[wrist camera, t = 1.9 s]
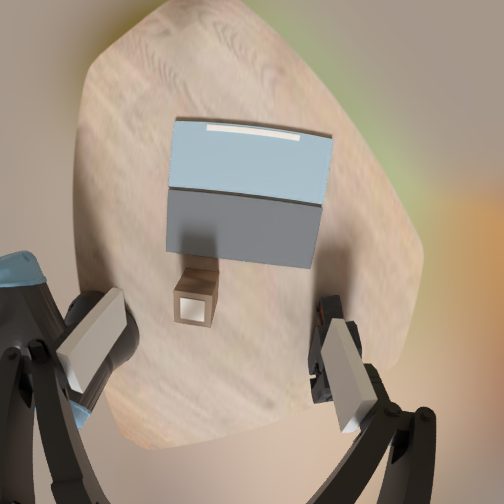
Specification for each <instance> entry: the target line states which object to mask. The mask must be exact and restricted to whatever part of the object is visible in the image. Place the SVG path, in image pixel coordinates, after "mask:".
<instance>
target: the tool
mask: <svg viewBox="0 0 504 504" xmlns="http://www.w3.org/2000/svg"><path fill="white" fill-rule="evenodd" d="M316 312H317V316H319V319H320V324H321V326H316V329H315V333H314V338H313V342H312V346H311V350H310V354H309V358H308V367H309V374H310V375H314V374H315V375H316V378H312V379H310V384H311V393H312V398H313V402H314V404H316V403H322V402H329V401H333V397H332V393H331V389H330V385H329V381H328V377H327V374H326V370H325V366H324V362H323V358H322V355H321V349H322V347H323V344H324V341H325V338H326V335H327V332H328V330H329V327H330V324H331V321H332V318H336V319H344V317H343V312H342V306H341V301H340V296H339V295H333V296H325V297H320V298H319V301H318V303H317V306H316ZM345 323H346V326H347V328H348V330H349V332H350V335H351V337H352V339H353V341H354V344H355V346H356V348H357V350H358V353H359V355H360V357H361V359H362V346H361V341H360V337H359V333H358V328H357V325H356V324H355V322H354V321H349V322H345Z"/></svg>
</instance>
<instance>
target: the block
mask: <svg viewBox="0 0 504 504" xmlns="http://www.w3.org/2000/svg"><path fill="white" fill-rule="evenodd" d="M218 284H219V272H213V271H205V270H197V269H190V268H186V270H185V271H184V273H183V275H182V277H181V278H180V280H179V282H178V284H177V285H176V287H175V289H174V322H177V323H183V324H189V325H196V326H202V327H209V328H211V324H212V320H213V316H214V312H215V308H216V304H217V298H218Z"/></svg>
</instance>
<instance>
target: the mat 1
mask: <svg viewBox="0 0 504 504" xmlns="http://www.w3.org/2000/svg"><path fill="white" fill-rule="evenodd" d="M332 146H333V139H330V138H325V137H320V136H315V135H309V134H304V133H298V132H292V131H286V130H279V129H272V128H264V127H256V126H247V125H238V124H226V123H212V122H193V121H175V122H174V131H173V140H172V149H171V160H170V173H169V186H173V187H185V188H197V189H208V190H218V191H227V192H236V193H245V194H253V195H261V196H269V197H277V198H284V199H291V200H298V201H304V202H311V203H317V204H323V203H324V197H325V191H326V185H327V179H328V173H329V167H330V160H331V153H332Z"/></svg>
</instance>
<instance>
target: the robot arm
mask: <svg viewBox="0 0 504 504" xmlns="http://www.w3.org/2000/svg"><path fill="white" fill-rule="evenodd" d="M46 281H47V280H46V277H45V276H44V275H43V273H42V271H41V269H40V266H39V264H38V262H37V259H36V257H35V256H34V255H33V254H32V253H31V252H29V251H19V252H15V253H11V254H8V255H5V256H2V257H0V504H35V495H34V483H33V461H32V460H33V457H32V455H33V453H32V451H33V450H32V449H33V425H34V413H36V414H37V420H38V425H39V430H40V435H41V440H42V444H43V448H44V452H45V456H46V460H47V463H48V467H49V470H50V473H51V476H52V479H53V483H52V484H51V490H52V493H53V496H54V499H55V501H56V504H110V502H109V501H108V500H107V498H106V497H105V495H104V493H103V491H102V489H101V487H100V485H99V482H98V480H97V478H96V476H95V474H94V471H93V469H92V467H91V464H90V462H89V459H88V457H87V454H86V452H85V449H84V446H83V443H82V440H81V437H80V435H79V431H78V430H79V429H81V428H82V426H83V425H84V423H85V422H86V420H87V418H88V417H89V416H90V415H91V412H92V410H93V408H94V406H95V404H96V402H97V400H98V398H99V396H100V394H101V392H102V391H103V389H104V387H105V385H106V383H107V381H108V379H109V377H110V375H111V374H112V372H113V371H114V370H115V369H116V368H118V367H119V366H120V365H121V364H123V363H124V362H125V361H127V360H129V359H130V358H131V357H132V356H133V354H134V352H135V350H136V349H137V347H138V344H139V332H138V328H137V326H136V323H135V321H134V320H133V318H132V316H131V315H130V314H129V312H128V311H127V310H126V309H125V305H124V296H123V289H118V288H114V287H112V288H111V290H110V291H109V292H108V293H107V294H104V293H101V292H96V291H87V292H84V293H81V294H80V295H79V296H78V297H77V298H76V299H75V300H73V302H72V303H71V305H70V306H69V309H68V312H67V314H66V316H65V319H63V318H62V316H61V314H60V312H59V310H58V308H57V306H56V303H55V301H54V299H53V297H52V295H51V292H50V290H49V288H48V285H47V283H46ZM321 355H322V358H323V362H324V366H325V370H326V374H327V377H328V381H329V385H330V389H331V393H332V397H333V401H334V405H335V409H336V413H337V417H338V422H339V425H340V430H341V433H346V432H355V431H356V429H357V428H358V427H359V426H360V429H361V432H360V433H359V435H358V436H357V437H356V439H355V440H354V441H353V442H354V443H353V444H352V446H351V447H350V448H349V450H348V451H347V453H346V454H345V456H344V457H343V459H342V460H341V461H340V463H339V464H338V465H337V467H336V468H335V470H334V471H333V472H332V473H331V475H330V476H329V477H328V478H327V480H326V481H325V482H324V483H323V485H322V486H321V487H320V488H319V489H318V491H317V492H316V493H315V494H314V495H313V496H312V498H311V499H310V500H309V501H308V502H307V503H306V504H354V503H355V502H356V500H357V499H358V497H359V496H360V494H361V493H362V491H363V489H364V488H365V486H366V485H367V483H368V482H369V480H370V478H371V477H372V475H373V473H374V472H375V470H376V468H377V466H378V464H379V463H380V461H381V459H382V457H383V455H384V453H385V451H386V449H387V447H388V446H391V447H390V452H389V457H388V462H387V466H386V471H385V475H384V479H383V483H382V487H381V490H380V494H379V497H378V501H377V504H430V499H431V493H432V486H433V476H434V467H435V453H436V452H435V451H436V415H435V413H434V412H433V410H431V409H430V408H428V407H420V408H418V409H417V410H416V412H415V413H414V412H407V411H402V410H401V408H400V407H399V406H398V405H397V404H396V403H393V402H391V401H390V399H389V396H388V394H387V392H386V390H385V387H384V385H383V383H382V381H381V378H380V377H379V374H378V372H377V369H376V368H375V367H374V366H373V365H372V364H371V363H370V364H363V362H362V360H361V357H360V355H359V353H358V350H357V348H356V346H355V344H354V341H353V339H352V337H351V335H350V332H349V330H348V328H347V326H346V323H345V321H344V319H336V318H332V321H331V324H330V327H329V330H328V332H327V335H326V338H325V341H324V344H323V347H322V349H321Z"/></svg>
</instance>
